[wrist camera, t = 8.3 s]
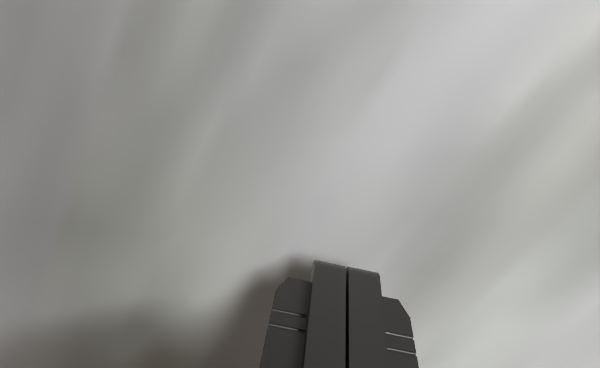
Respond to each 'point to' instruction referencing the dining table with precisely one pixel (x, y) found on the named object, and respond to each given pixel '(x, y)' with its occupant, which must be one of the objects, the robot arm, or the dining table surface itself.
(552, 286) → the dining table surface
